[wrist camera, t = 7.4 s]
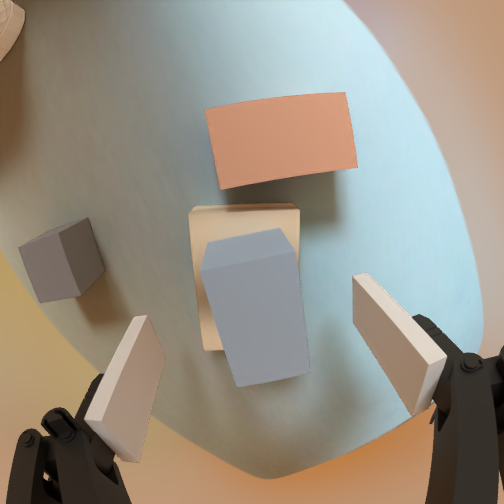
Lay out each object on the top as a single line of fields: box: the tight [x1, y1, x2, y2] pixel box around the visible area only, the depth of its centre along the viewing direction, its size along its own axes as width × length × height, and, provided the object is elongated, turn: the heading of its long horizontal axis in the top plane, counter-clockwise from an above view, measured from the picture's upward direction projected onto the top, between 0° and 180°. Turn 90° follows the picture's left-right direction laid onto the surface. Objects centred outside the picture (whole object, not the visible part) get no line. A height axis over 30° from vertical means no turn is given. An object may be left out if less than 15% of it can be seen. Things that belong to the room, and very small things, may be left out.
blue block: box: [200, 228, 310, 388], centre depth 14 cm, size 7×4×4 cm, turn 11°
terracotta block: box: [205, 92, 358, 190], centre depth 14 cm, size 7×4×4 cm, turn 101°
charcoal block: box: [18, 218, 105, 303], centre depth 16 cm, size 4×4×4 cm
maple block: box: [188, 203, 300, 350], centre depth 18 cm, size 9×6×3 cm, turn 1°
